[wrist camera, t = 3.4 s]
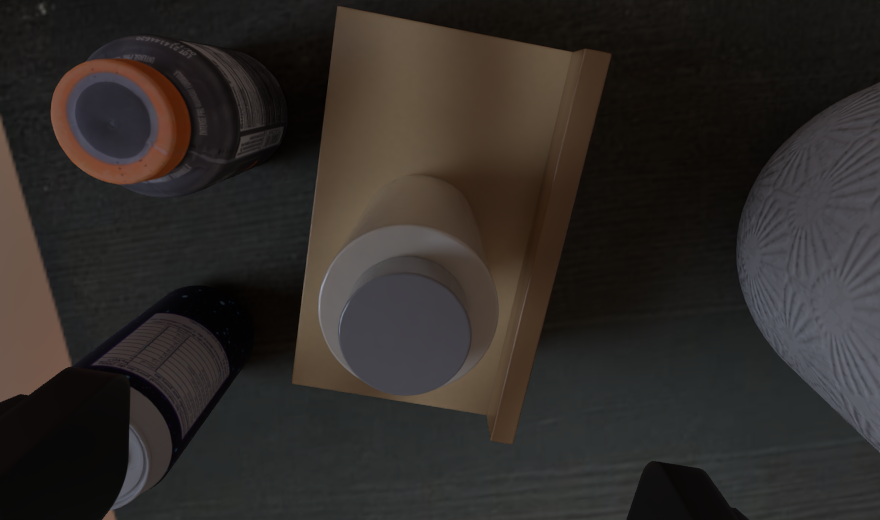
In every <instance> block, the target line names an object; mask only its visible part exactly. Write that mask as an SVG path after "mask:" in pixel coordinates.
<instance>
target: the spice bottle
mask: <svg viewBox="0 0 880 520" xmlns="http://www.w3.org/2000/svg"><path fill="white" fill-rule="evenodd" d="M498 316H499V303H498V296H497V291H496V287H495V284H494V280H493V277H492V273H491V270H490V266H489V263H488V259H487V256H486V252H485V249H484V245H483V242H482V238H481V235H480V231H479V228H478V224H477V221H476V217H475V214H474V211H473V209H472V207H471V205H470V203H469V202H468V200H467V199H466V197H465V196H464V195H463V194H462V193H461V192H460V191H459V190H458V189H457V188H456V187H454V186H453V185H452V184H450V183H448V182H446V181H445V180H442V179H440V178H437V177H433V176H429V175H410V176H405V177H401V178H398V179H396V180H393V181H391V182H390V183H388V184H386V185H385V186H384V187H382V188H381V189H380V190H379V191H378V192H377V193H376V194H375V195H374V196H373V198H372V199H371V201H370V202H369V204H368V205H367V207H366V208H365V210H364V211H363V213H362V215H361V216H360V218H359V219H358V221H357V222H356V224H355V226H354V227H353V229H352V230H351V232H350V234H349V235H348V237H347V238H346V240H345V241H344V243H343V245H342V246H341V248H340V249H339V251H338V253H337V254H336V256H335V257H334V259H333V260H332V262H331V264H330V265H329V267H328V269H327V271H326V273H325V275H324V277H323V280H322V283H321V286H320V291H319V295H318V319H319V323H320V328H321V331H322V334H323V337H324V339H325V341H326V343H327V345H328V347H329V349H330V350H331V352H332V353H333V355H334V356H335V357H336V359H337V360H338V361H339V362H340V363H341V364H342V365H343V367H344V368H346V369H347V370H348V371H349V372H350V373H352V374H353V375H354V376H356V377H357V378H359V379H360V380H362V381H363V382H365V383H366V384H368V385H369V386H371V387H373V388H375V389H377V390H379V391H382V392H385V393H389V394H393V395H401V396H411V395H419V394H423V393H427V392H430V391H432V390H435V389H439V388H441V387H444V386H446V385H449V384H451V383H453V382H455V381H456V380H458V379H460V378H461V377H463V376H464V375H465V374H467V373H468V372H469V371H470V370H471V369H472V368H474V367H475V366H476V365H477V363H478V362H479V361H480V360H481V359H482V358H483V356H484V355H485V353H486V352H487V350H488V348H489V347H490V344H491V342H492V340H493V338H494V335H495V331H496V328H497V323H498Z"/></svg>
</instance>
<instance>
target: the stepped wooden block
mask: <svg viewBox="0 0 880 520" xmlns="http://www.w3.org/2000/svg"><path fill="white" fill-rule="evenodd" d="M611 56H612V54H611V53H607V52H602V51H597V50H592V49H587V48H585V49H582V50H578V51H575V52H570V51H565V50H560V49H555V48H550V47H544V46H539V45H534V44H529V43H524V42H519V41H514V40H509V39H504V38H499V37H494V36H489V35H484V34H479V33H474V32H469V31H463V30H458V29H453V28H448V27H443V26H438V25H433V24H428V23H423V22H418V21H413V20H408V19H403V18H398V17H393V16H387V15H382V14H377V13H372V12H367V11H362V10H357V9H352V8H347V7H342V6H338V7H337V13H336V21H335V29H334V37H333V46H332V54H331V62H330V70H329V79H328V87H327V95H326V104H325V112H324V120H323V128H322V137H321V145H320V153H319V161H318V170H317V178H316V186H315V194H314V203H313V211H312V219H311V227H310V236H309V244H308V252H307V260H306V269H305V277H304V285H303V294H302V302H301V310H300V318H299V327H298V335H297V343H296V351H295V360H294V368H293V376H292V383H293V384H298V385H304V386H310V387H317V388H323V389H329V390H335V391H341V392H348V393H354V394H360V395H366V396H372V397H379V398H385V399H391V400H397V401H403V402H410V403H416V404H422V405H428V406H434V407H441V408H447V409H453V410H459V411H465V412H471V413H478V414H484V415H487V420H488V427H489V433H490V440H491V441H495V442H501V443H507V444H513V442H514V438H515V434H516V430H517V426H518V422H519V418H520V414H521V410H522V406H523V402H524V398H525V394H526V391H527V387H528V383H529V379H530V375H531V371H532V367H533V363H534V359H535V355H536V351H537V347H538V343H539V339H540V335H541V332H542V328H543V324H544V320H545V316H546V312H547V308H548V304H549V300H550V296H551V292H552V288H553V284H554V280H555V276H556V273H557V269H558V265H559V261H560V257H561V253H562V249H563V245H564V241H565V237H566V233H567V229H568V225H569V221H570V217H571V214H572V210H573V206H574V202H575V198H576V194H577V190H578V186H579V182H580V178H581V174H582V170H583V166H584V162H585V158H586V155H587V151H588V147H589V143H590V139H591V135H592V131H593V127H594V123H595V119H596V115H597V111H598V107H599V103H600V99H601V96H602V92H603V88H604V84H605V80H606V76H607V72H608V68H609V64H610V60H611ZM410 175H429V176H433V177H437V178H440V179H442V180H445V181H446V182H448V183H450V184H452V185H453V186H454V187H456V188H457V189H458V190H459V191H460V192H461V193H462V194H463V195H464V196H465V197H466V199H467V200H468V202H469V203H470V205H471V207H472V209H473V211H474V214H475V217H476V221H477V224H478V228H479V231H480V235H481V238H482V242H483V245H484V249H485V252H486V256H487V259H488V263H489V266H490V270H491V273H492V277H493V280H494V284H495V287H496V291H497V296H498V303H499V316H498V323H497V328H496V331H495V335H494V338H493V340H492V342H491V344H490V347H489V348H488V350H487V352H486V353H485V355H484V356H483V358H482V359H481V360H480V361H479V362H478V363H477V365H476V366H475V367H474V368H472V369H471V370H470V371H469V372H468V373H467V374H465V375H464V376H463V377H461V378H460V379H458V380H456V381H455V382H453V383H451V384H449V385H446V386H444V387H441V388H439V389H435V390H432V391H430V392H427V393H423V394H419V395H411V396H401V395H393V394H389V393H385V392H382V391H379V390H377V389H375V388H373V387H371V386H369V385H368V384H366V383H365V382H363V381H362V380H360V379H359V378H357V377H356V376H354V375H353V374H352V373H350V372H349V371H348V370H347V369H346V368H344V367H343V365H342V364H341V363H340V362H339V361H338V360H337V359H336V357H335V356H334V355H333V353H332V352H331V350H330V349H329V347H328V345H327V343H326V341H325V339H324V337H323V334H322V331H321V328H320V323H319V319H318V295H319V291H320V286H321V283H322V280H323V277H324V275H325V273H326V271H327V269H328V267H329V265H330V264H331V262H332V260H333V259H334V257H335V256H336V254H337V253H338V251H339V249H340V248H341V246H342V245H343V243H344V241H345V240H346V238H347V237H348V235H349V234H350V232H351V230H352V229H353V227H354V226H355V224H356V222H357V221H358V219H359V218H360V216H361V215H362V213H363V211H364V210H365V208H366V207H367V205H368V204H369V202H370V201H371V199H372V198H373V196H374V195H375V194H376V193H377V192H378V191H379V190H380V189H381V188H382V187H384V186H385V185H386V184H388V183H390V182H391V181H393V180H396V179H398V178H401V177H405V176H410Z"/></svg>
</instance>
